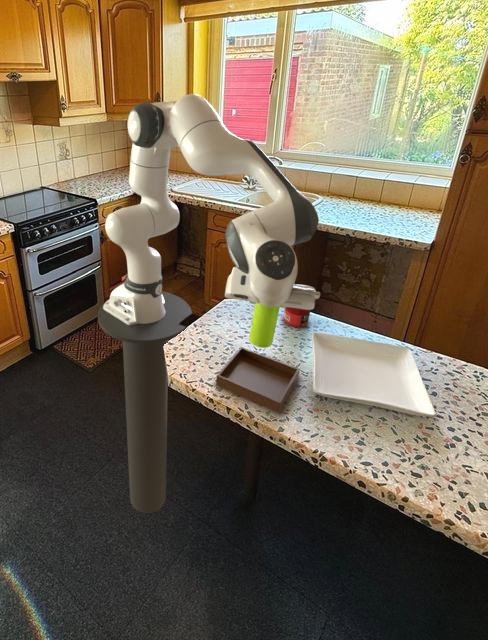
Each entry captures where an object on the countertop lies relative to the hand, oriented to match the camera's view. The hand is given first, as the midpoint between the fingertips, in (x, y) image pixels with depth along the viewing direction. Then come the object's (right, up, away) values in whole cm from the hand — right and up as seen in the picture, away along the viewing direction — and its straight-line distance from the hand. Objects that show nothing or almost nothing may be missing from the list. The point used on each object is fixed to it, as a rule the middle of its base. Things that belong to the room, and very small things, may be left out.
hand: (267, 302), depth 98 cm
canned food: (+19, -9, +36) cm, 41 cm away
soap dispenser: (0, -11, +4) cm, 12 cm away
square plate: (+29, -22, +11) cm, 38 cm away
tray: (0, -22, +9) cm, 24 cm away
